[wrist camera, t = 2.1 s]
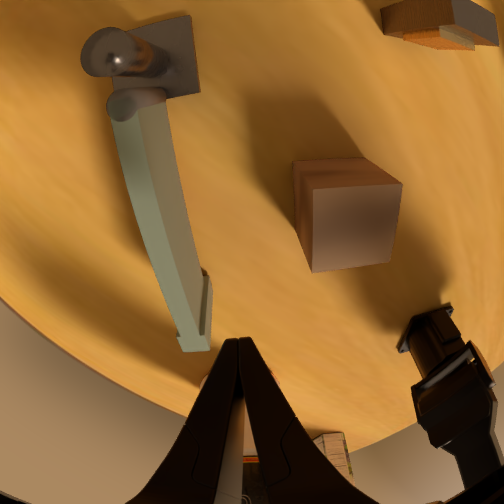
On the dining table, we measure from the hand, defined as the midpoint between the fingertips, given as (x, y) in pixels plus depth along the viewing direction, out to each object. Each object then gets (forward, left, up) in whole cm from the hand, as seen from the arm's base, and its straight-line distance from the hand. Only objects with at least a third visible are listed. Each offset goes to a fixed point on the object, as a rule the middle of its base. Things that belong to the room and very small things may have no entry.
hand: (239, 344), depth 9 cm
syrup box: (-53, -11, -11) cm, 55 cm away
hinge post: (+10, +4, -11) cm, 15 cm away
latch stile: (+12, -12, -11) cm, 21 cm away
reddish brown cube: (0, -6, -11) cm, 13 cm away
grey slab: (+1, +4, -11) cm, 11 cm away
